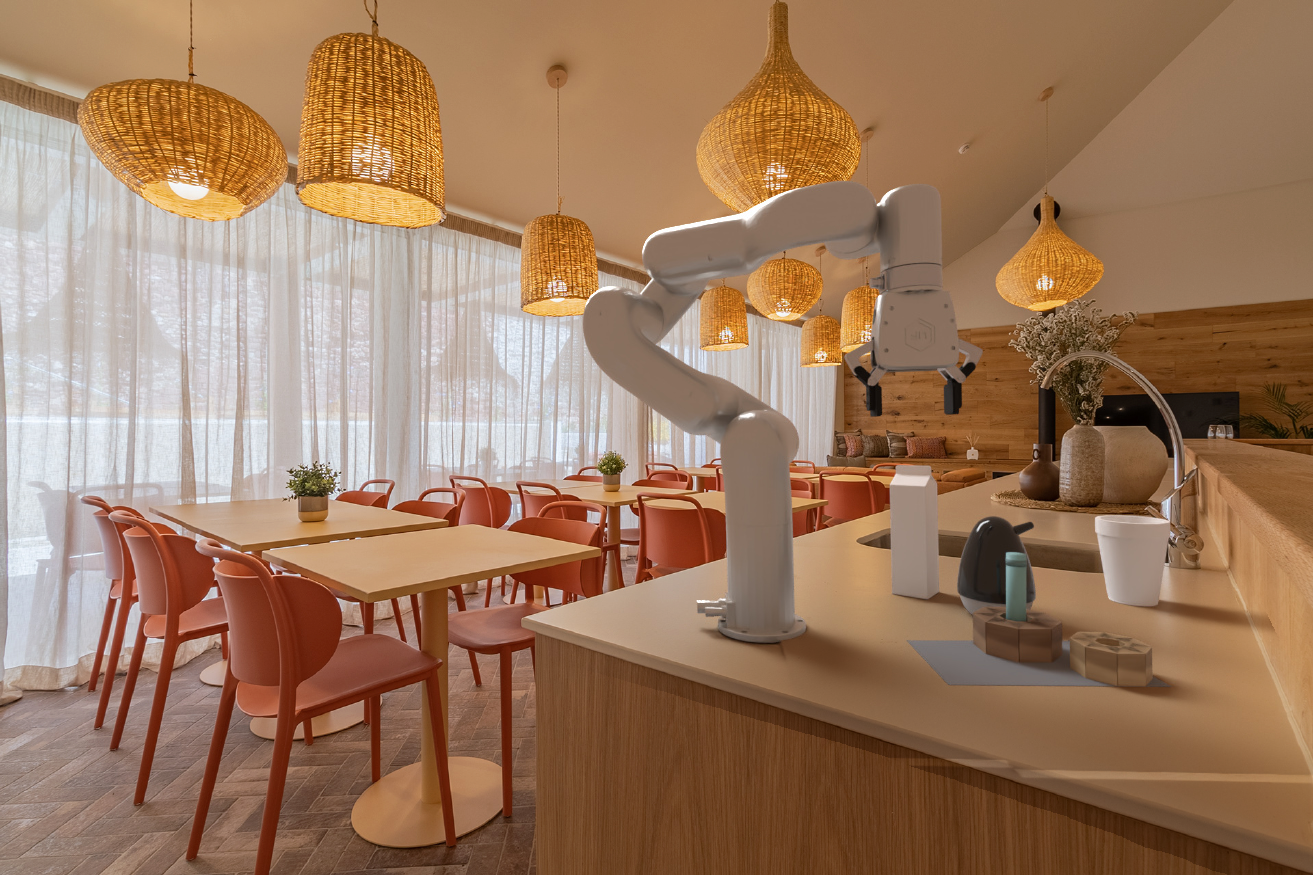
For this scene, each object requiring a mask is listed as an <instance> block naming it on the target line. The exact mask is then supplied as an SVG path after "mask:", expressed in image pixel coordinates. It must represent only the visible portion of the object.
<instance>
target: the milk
mask: <svg viewBox="0 0 1313 875" xmlns="http://www.w3.org/2000/svg"><path fill="white" fill-rule="evenodd" d="M938 501H939V500H938V483H937V480H936V479H935V478H934V476H933V475H932V467H931V465H914V464H913V465H912V464H911V465H910V464H909V465H908V464H907V465H905V464H904V465H903V464H897V465H896V466H895V474H894V476H893V478H892V480H891V482H890V483H889V506H890V507H889V514H890V520H889V521H890V553H891V554H890V556H891V558H890V559H891V560H890V562H891V566H890V567H891V594H892V595H897V596H904V597H911V598H916V599H922V600H929V599H930V598H933V597H934V596H935V595H936V594H938V593H940V562H939V561H940V560H939V555H940V553H939V510H938V508H939V506H938V505H939V504H938Z"/></svg>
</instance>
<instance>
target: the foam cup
mask: <svg viewBox="0 0 1313 875" xmlns="http://www.w3.org/2000/svg"><path fill="white" fill-rule="evenodd" d="M1094 529H1095V530H1094V531H1095V533H1096V536H1097V543H1098V548H1099V553H1100V558H1101V565H1102V566H1101V567H1102V572H1103V576H1104V582H1105V587H1106V588H1105V589H1106V594H1107V598H1108V599H1109V600H1110V601H1111V602H1112V601H1113V602H1114V603H1115V602H1116V603H1118V604H1122V605H1123V604H1124V605H1128V606H1136V607H1155V606H1158V605H1159V600H1160V595H1161V589H1162V583H1163V577H1164V571H1165V570H1164V568H1165V563H1166V556H1167V551H1168V550H1167V549H1168V545H1169V539H1170V538H1171V521H1170V520H1168V519H1165V518H1157V517H1154V516H1153V517H1151V516H1142V515H1140V516H1139V515H1128V514H1127V515H1124V514H1123V515H1122V514H1116V515H1115V514H1114V515H1113V514H1109V515H1108V514H1106V515H1097V516H1096V517H1094Z"/></svg>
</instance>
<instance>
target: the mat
mask: <svg viewBox="0 0 1313 875" xmlns="http://www.w3.org/2000/svg"><path fill="white" fill-rule="evenodd" d="M906 642H907V643H908V644H909V645H910V647H912V648H913V649H914V650H915V651H916V653H917V654H919V655H920V657H921V658H922V659H923V660H924V661H925V662H926V663H927V664H928V665H929V666H930V667H931V668H932V669H933V671H935V672H936V674H938V676H939V677H940V678H941V679H942V680H943V681H944V682H945V683H946V685H948V686H993V687H994V686H999V687H1000V686H1001V687H1002V686H1006V687H1007V686H1008V687H1009V686H1011V687H1014V686H1016V687H1019V686H1020V687H1025V686H1026V687H1031V686H1032V687H1119V688H1121V687H1122V688H1123V687H1124V688H1125V687H1126V688H1127V687H1130V688H1131V687H1134V688H1135V687H1136V688H1137V687H1141V688H1142V687H1144V688H1145V687H1146V688H1149V687H1150V688H1155V687H1156V688H1171V687H1172V685H1170V684H1168V683H1166V682H1165V681H1162V680H1161V679H1159V678H1157V677H1155V676H1154V675H1152V676H1153V679H1152V680H1151V681H1150V682H1149V684H1148V685H1147V686H1115V685H1111V684H1107V683H1103V682H1099V681H1095V680H1091V679H1087V678H1085V677H1083V676H1082V675H1080V674H1079V673H1077V672H1076V671H1074V670H1073V669H1071V668H1070V640H1062V655H1061V656H1060V657H1059V658H1057V659H1056V660H1055V661H1054V662H1052V663H1027V662H1015V661H1011V660H1007V659H1003V658H999V657H995V656H991V655H987V654H985V653H984V652H983V651H982V650H980V649H979V648H978V647H977V646H975V645H974V644H973V639H971V640H959V639H956V640H954V639H953V640H951V639H950V640H949V639H947V640H946V639H945V640H943V639H942V640H932V639H931V640H925V639H921V640H917V639H913V640H911V639H910V640H909V639H908V640H906Z"/></svg>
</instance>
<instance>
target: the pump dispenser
mask: <svg viewBox="0 0 1313 875" xmlns="http://www.w3.org/2000/svg"><path fill="white" fill-rule="evenodd" d="M1034 528H1035V524H1034V523H1033V522H1032V521H1027V522H1023V523H1020V524H1017V525H1014V526H1013V524H1012V523H1011V522H1009V521H1008V520H1007V519H1006V518H1004V517H1000V516H996V515H992V516H991V515H989V516H986V517H983V518H981V519H980V520H978V521H977V522H976V524H975V525H974V526H973V527H972V529H971V531H970V533H969V535H968V537H967V540H966V542H965V545H964V547H963V549H962V550H963V551H962V554H961V557H960V562H959V564H958V573H957V579H956V580H957V582H956V589H957V590H956V591H957V593H958V594H959V596H960V600H961V602H962V605H963V607H964V608H965V609H966V611H967V612H968V613H969V614H971V615H972V616H973V612H975V611H977V610H979V609H981V608H983V607H1006V553H1007V552H1017V553H1023V554H1026V559H1027V566H1026V609H1028V610H1032V607H1033V604H1034V601H1035V600H1037V599H1036V598H1037V595H1036V594H1037V593H1036V592H1037V591H1036V584H1035V577H1034V572H1033V569H1032V565H1031V561H1030V557H1029V555H1028V553H1027V550H1026V547H1025V545H1024V543H1023V541H1022V539H1021V536H1020V535H1022V534H1024V533H1026V532H1029V531H1031V530H1033V529H1034Z"/></svg>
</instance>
